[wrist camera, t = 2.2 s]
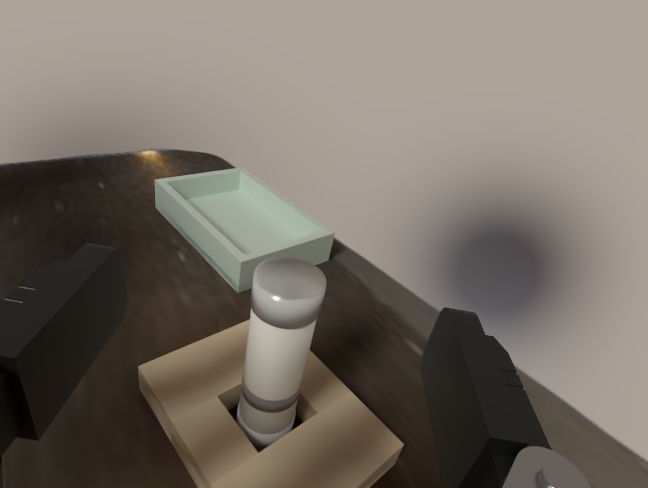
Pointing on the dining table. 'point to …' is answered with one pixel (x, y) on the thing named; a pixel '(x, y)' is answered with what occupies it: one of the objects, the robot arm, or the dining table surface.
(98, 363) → the dining table surface
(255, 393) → the fuse
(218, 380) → the fuse holder
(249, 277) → the parts tray
